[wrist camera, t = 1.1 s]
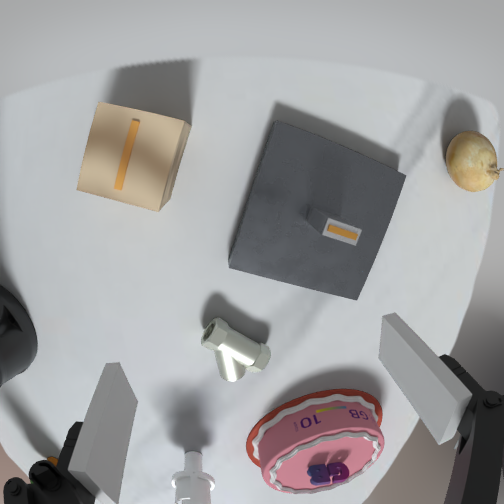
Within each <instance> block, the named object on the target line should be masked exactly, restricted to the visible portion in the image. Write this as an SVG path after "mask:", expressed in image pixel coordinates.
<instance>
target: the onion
mask: <svg viewBox="0 0 504 504" xmlns="http://www.w3.org/2000/svg"><path fill="white" fill-rule="evenodd" d="M446 166H447V170H448V173H449V175H450V177H451V178H452V180H453V181H454V182H455V183H456V184H457V185H458V186H459V187H461V188H462V189H465V190H467V191H471V192H477V191H481V190H485V189H486V188H488V187H489V186H490V185H491V184H492V183H493V182H494V180H497V179H498V178H499V172H500V171H502V170H504V169H503V168H500V170H498V169H497V157H496V152H495V149H494V147H493V145H492V144H491V142H490V141H489V140H488V139H487V138H486V137H485V136H484V135H482V134H480V133H479V132H475V131H465V132H462V133H459V134H458V135H456V136H455V137H454V138H453V139H452V141H451V142H450V144H449V146H448V148H447V153H446Z"/></svg>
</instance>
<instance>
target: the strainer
mask: <svg viewBox="0 0 504 504" xmlns="http://www.w3.org/2000/svg"><path fill="white" fill-rule="evenodd" d="M172 486H173V487H174V488H175V489H176V498H175V504H178V501H179V500H182V504H211V501H210V491H211V490H213V489H214V487H215V483H214V478H213V477H212V476H211V475H209V474H207V473H204V472H202V454H200V453H199V452H195V451H190V452H187V453H186V454H185V467H184V471H180V472H177V473H175V474H174V475H173V476H172Z"/></svg>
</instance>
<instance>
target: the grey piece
mask: <svg viewBox="0 0 504 504" xmlns="http://www.w3.org/2000/svg"><path fill="white" fill-rule="evenodd" d="M405 178H406V175H404V174H402V173H400V172H398V171H396V170H394V169H392V168H390V167H388V166H386V165H384V164H382V163H380V162H377V161H375V160H373V159H371V158H369V157H367V156H364V155H362V154H360V153H358V152H355V151H353V150H351V149H349V148H346V147H344V146H342V145H339V144H337V143H334V142H332V141H330V140H327V139H325V138H322V137H320V136H317V135H315V134H312V133H309V132H307V131H304V130H302V129H299V128H296V127H293V126H291V125H288V124H285V123H282V122H280V121H275V122H274V123H273V126H272V129H271V132H270V135H269V138H268V141H267V144H266V147H265V150H264V153H263V156H262V159H261V162H260V165H259V168H258V171H257V174H256V177H255V180H254V183H253V186H252V189H251V192H250V195H249V198H248V201H247V204H246V207H245V210H244V214H243V217H242V220H241V223H240V226H239V229H238V232H237V235H236V238H235V242H234V245H233V248H232V251H231V254H230V257H229V260H228V264H229V268H232V269H235V270H239V271H243V272H247V273H250V274H254V275H258V276H262V277H266V278H270V279H274V280H277V281H281V282H285V283H289V284H293V285H297V286H301V287H305V288H309V289H313V290H317V291H321V292H325V293H329V294H333V295H337V296H341V297H345V298H349V299H353V300H357V299H358V297H359V295H360V292H361V290H362V288H363V286H364V284H365V281H366V279H367V277H368V274H369V272H370V270H371V267H372V265H373V263H374V260H375V258H376V256H377V253H378V251H379V248H380V246H381V243H382V241H383V238H384V236H385V233H386V231H387V228H388V225H389V223H390V220H391V218H392V215H393V212H394V209H395V207H396V204H397V201H398V198H399V196H400V193H401V190H402V187H403V184H404V181H405Z"/></svg>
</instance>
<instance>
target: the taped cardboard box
mask: <svg viewBox="0 0 504 504" xmlns="http://www.w3.org/2000/svg"><path fill="white" fill-rule="evenodd" d="M191 127H192V126H190V125H189V124H188V123H187V122H185V121H183V120H179V119H176V118H172V117H167V116H163V115H159V114H155V113H151V112H146V111H142V110H137V109H133V108H128V107H123V106H118V105H113V104H108V103H102V102H98V105H97V109H96V112H95V115H94V119H93V122H92V126H91V129H90V133H89V137H88V141H87V145H86V149H85V153H84V157H83V161H82V166H81V171H80V175H79V180H78V185H77V190H79V191H82V192H86V193H90V194H94V195H97V196H101V197H105V198H109V199H112V200H116V201H120V202H123V203H127V204H131V205H135V206H138V207H142V208H146V209H149V210H153V211H156V212H159V211H160V210H161V208H162V207H163V206H164V205H165V204H166V203H167V202H168V201H169V200H170V198H171V194H172V190H173V187H174V183H175V179H176V176H177V172H178V169H179V166H180V162H181V159H182V156H183V152H184V149H185V146H186V142H187V139H188V136H189V133H190V130H191Z"/></svg>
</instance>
